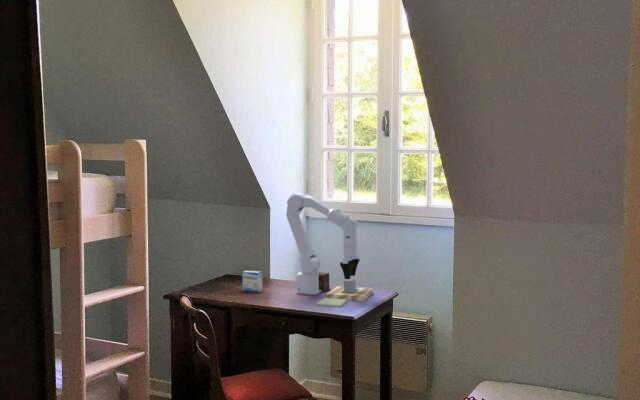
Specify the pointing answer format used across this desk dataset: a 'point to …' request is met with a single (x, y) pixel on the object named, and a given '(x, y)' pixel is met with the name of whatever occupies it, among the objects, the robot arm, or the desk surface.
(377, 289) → the desk surface
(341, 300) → the tile
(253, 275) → the medicine box
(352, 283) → the slate block
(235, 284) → the desk surface
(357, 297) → the pocket board
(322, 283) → the box
